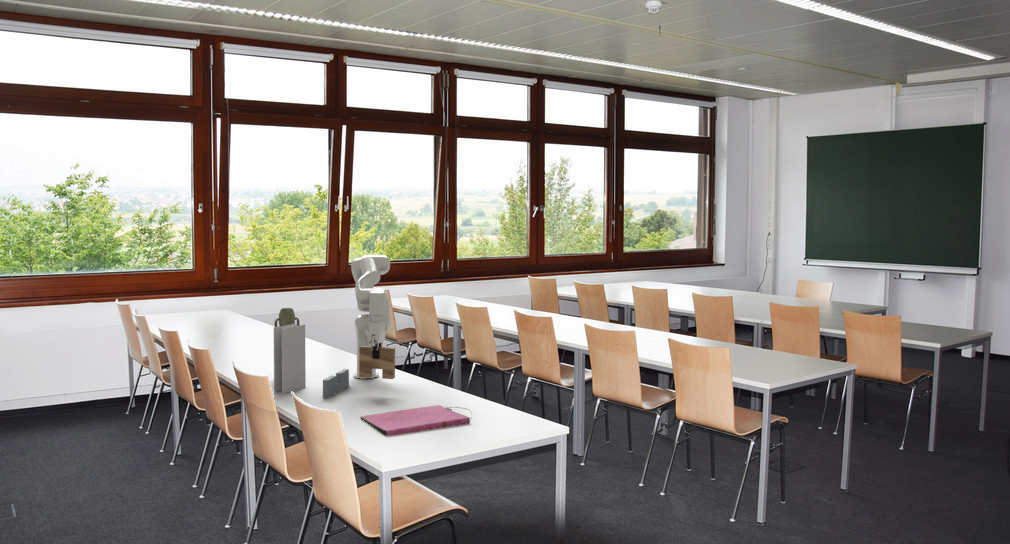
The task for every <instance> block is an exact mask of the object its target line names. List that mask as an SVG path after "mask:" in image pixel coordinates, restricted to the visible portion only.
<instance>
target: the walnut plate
mask: <svg viewBox="0 0 1010 544" xmlns="http://www.w3.org/2000/svg"><path fill="white" fill-rule="evenodd" d="M372 369H376V370H382V371H381V378H382V379H385V380H394V379H395V378H396V347H391V346H382V347H379V359H373V358H372V347H371V346H360V353H359V377H368V378H370V377H371V376H372Z"/></svg>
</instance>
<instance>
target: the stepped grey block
mask: <svg viewBox="0 0 1010 544" xmlns="http://www.w3.org/2000/svg"><path fill="white" fill-rule="evenodd" d="M347 386H348V387H349V386H350V369H347V368H343V369H342V370H339V371H337V372H336V373H335V375H330V376H327V377H326V378H324V379H322V398H323V397H324V398H325V399H328V397H329V398H330V397H332V396H334V395H336V394H337V393H339V392H341V391H342V389H343V390H344V389H346V388H348V387H347ZM345 387H346V388H345ZM340 390H341V391H340ZM335 393H336V394H335Z"/></svg>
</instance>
